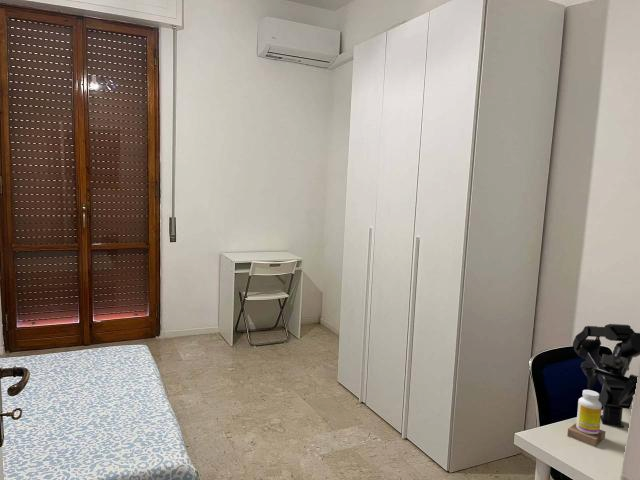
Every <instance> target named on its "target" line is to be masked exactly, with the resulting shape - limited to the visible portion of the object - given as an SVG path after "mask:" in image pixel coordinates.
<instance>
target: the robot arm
mask: <svg viewBox="0 0 640 480" xmlns="http://www.w3.org/2000/svg"><path fill="white" fill-rule="evenodd" d="M589 337H595V339H592V338H591V339H589ZM602 337H603V338H605V339H606V340H608V341H614V342H618V343H615V346H614V349H613V351H612V353H611V354H609V355H608V354H604V353H602V355H600V354H599V351H600V348H601V345H602V341H601V339H600V338H602ZM573 347H574V349H573V350H574V353H576V354H577V356H578V357H580V358H582V359H585V360H584V361H582V362H581V363H580V366H579V367H580V368H581V370H582V372H583V374H584V375H585V376H586V378H587V388H586V390H592V391H593V389H594V386H595V385H596V383H597V381H598V382H599V383H600V385H601V386H602V388H601V392H600V393H599V399H598V401H599V402H600V403H601V405H602V407H603V408H602V414H601V419H600V422H601V423H602V424H603V425H606V426H612V427H617V428H625V425H624V423H623V421H622V419H623V410H624V409H625V410H626V409H628V410H630V408H631V406H632V403H633V401H634V396H635V395H636V394H635V389H636V383H637V377H638V376H639V375H635V374H630V375H629V377H627V376H626V374H627V372H628V371H629V370H630V365H631V363H632V360H633V358H637V357H640V332H636V331H634V330H633V328H631V325H629V324H619V323H618V324H616V323H609V324H605V325H604V326H597V325H586V326H584V327H583V329H582V331H580V332H579V333H577V335H575V336H574V339H573V341H572V348H573ZM597 379H598V380H597ZM634 394H635V395H634Z"/></svg>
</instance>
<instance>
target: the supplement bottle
mask: <svg viewBox="0 0 640 480" xmlns="http://www.w3.org/2000/svg"><path fill="white" fill-rule="evenodd" d="M599 394H600V393H599V392H597V391H594V390H593V389H592V390H587V389H583V390H582V396H581V397H580V398H578V401H577V413H576V414H577V415H576V422H575V423H576V427H577V429H578V430H580V431H581V432H584V433H587V434H593V435H594V434H598V433H599V430H601V429H600V428H601V427H600V426H601V415H602V409H603V408H602V407H603V406H602V405H601V403H600V402H599V401H598V399H599Z"/></svg>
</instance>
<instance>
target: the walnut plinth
mask: <svg viewBox="0 0 640 480" xmlns="http://www.w3.org/2000/svg"><path fill="white" fill-rule="evenodd" d="M606 433H607V431H605V430H603V429H600V430H599V433H598V434H594V435H593V434H587V433H584V432H581V431H580V430H578V429H577V427H576V422H575V423H574V424H573V425H572V426H569V427H568V428H567V435H566V436H567V437H569V438H571V439H574V440H576V441H578V442H582V443H584V444H587V445H589V446H592V447H594V448H596V447H597V446H598V445H599V444H601V442H603V441H604V440H605V439H606Z"/></svg>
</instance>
